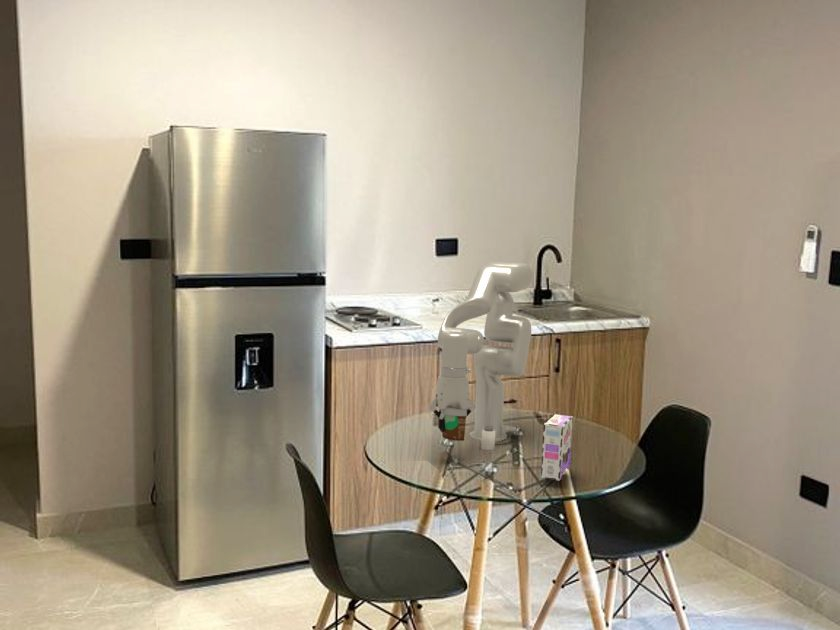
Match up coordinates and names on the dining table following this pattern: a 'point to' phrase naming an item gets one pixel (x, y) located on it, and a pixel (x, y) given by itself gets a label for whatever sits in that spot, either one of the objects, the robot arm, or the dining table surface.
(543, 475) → the candy box
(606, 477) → the dining table surface
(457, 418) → the food container
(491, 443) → the salt cellar
